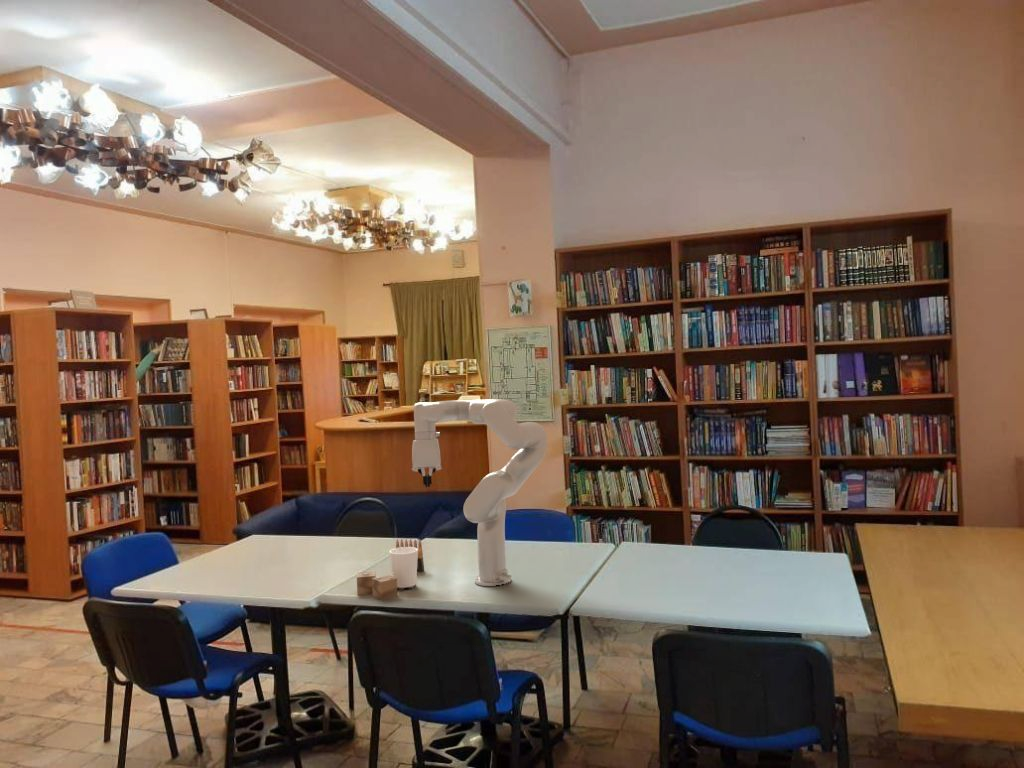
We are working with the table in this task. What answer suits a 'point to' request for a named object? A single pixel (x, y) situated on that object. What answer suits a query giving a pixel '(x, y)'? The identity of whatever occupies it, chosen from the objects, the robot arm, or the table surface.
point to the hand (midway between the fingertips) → (427, 486)
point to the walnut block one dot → (365, 582)
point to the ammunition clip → (420, 555)
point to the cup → (404, 566)
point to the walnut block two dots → (384, 587)
